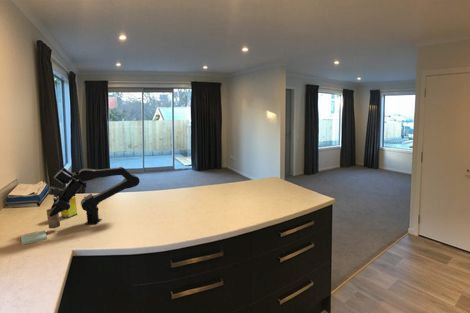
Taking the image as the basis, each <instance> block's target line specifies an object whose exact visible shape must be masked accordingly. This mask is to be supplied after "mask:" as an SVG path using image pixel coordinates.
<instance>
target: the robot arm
mask: <svg viewBox="0 0 470 313" xmlns="http://www.w3.org/2000/svg"><path fill="white" fill-rule="evenodd" d="M112 176H122V177H123V178H124V179H123V180H122V181H120V182H119V183H117V184H115V185H113V186H111V187H109V188H108V189H105V190H103V191H101V192H99V193H97V194H92V193H89V194H88V195H85V196H83V198H82V199H81V201H80V206H81V209H82V210H83V211H85V212H86V222H85V223H84V225H97V224H99V223H100V222H101V221H102V218H100V217H99V207H98V205H99V204H100V203H101V202H104V201H105V200H107V199H109V198H111V197H112V196H114V195H116V194H118V193H120V192H122V191H124V190H126V189H127V190H128V189H132V188H135V187H137V186H139V184H140V182H141V181H140V178H139V177H138V176H137V175H135V174H132V173H131V172H129V171H127V170H126V168H125V167H123V166H119V167H113V168H102V169H101V168H100V169H94V168H81V169H80V170H79V171H76V172H71V171H69V170H67V168H66V167H63V168H62V169H60V170H58V172H57V173H56V174H55V175H54V176H53V178H54V179H55V180H56V181H58V182H59V183H61V184H62V185H67V186H66V187H63V188H59V187H54V186H49V189H48V191H47V193H48V195H50V196H51V195H52V196H53V203H52V205H51V206H50V209H51V208H54V209H53V210H52V212H51V213H50V215H49V216H51V217H52V216H54V215H56V214H57V213H61V211H64V210H68V209H69V208H70V204H69V202H70V200H71V199H72V197H75V198H76V194H77V193H78V192H79V191H80V189H81V188H82V187H84V188H87V182H89V181H92V180H94V179H97V178H102V177H103V178H104V177H112Z"/></svg>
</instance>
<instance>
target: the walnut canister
mask: <svg viewBox="0 0 470 313" xmlns="http://www.w3.org/2000/svg"><path fill="white" fill-rule="evenodd" d="M53 209H54V208H51V207H50V208H48V209H46V217H47V224H48V228H49V229H57V228H59V227H60V226H61V222H60V214H59V213H60V212H59V213H57V214H56V215H54V216H52V217H51V216H49V215H50V213H51V212H52V210H53Z"/></svg>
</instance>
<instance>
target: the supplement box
mask: <svg viewBox="0 0 470 313" xmlns="http://www.w3.org/2000/svg"><path fill="white" fill-rule="evenodd" d="M69 204H70V208H69V209H68V210H64V211H61V212H60V213H61V214H60V215H61V218H67V219H71V218H73V217H75V216H77V215H78V209H77V208H78V207H77V201H76V196H75V197H74V196H73V197H72V199H71V200H70V202H69Z"/></svg>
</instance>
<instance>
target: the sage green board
mask: <svg viewBox="0 0 470 313" xmlns="http://www.w3.org/2000/svg"><path fill="white" fill-rule="evenodd" d="M20 238H21V239H20V240H21V245H22V246H23V245H27V244H31V243H35V242H40V241H44V240H48V235H47V233H46V230H41V231H37V232H32V233H27V234H23V235H20Z"/></svg>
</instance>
